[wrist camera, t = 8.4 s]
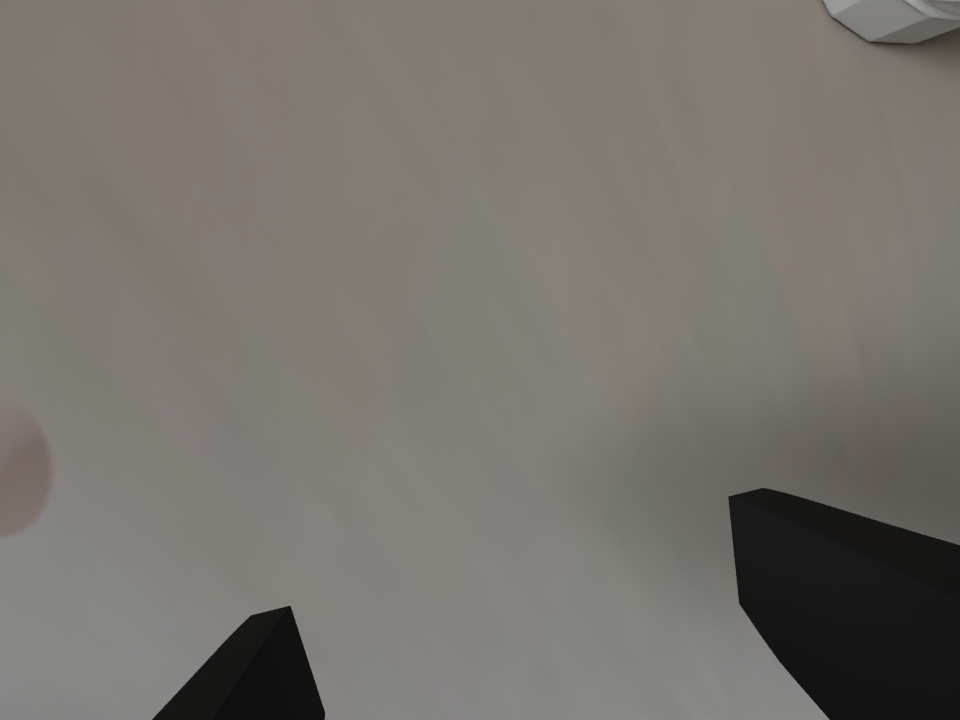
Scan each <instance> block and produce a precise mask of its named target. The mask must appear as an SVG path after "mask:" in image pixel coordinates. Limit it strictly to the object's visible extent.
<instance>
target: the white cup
mask: <svg viewBox="0 0 960 720" xmlns="http://www.w3.org/2000/svg"><path fill="white" fill-rule="evenodd" d="M823 2H824V4H825V6H826V8H827V10H828V12H829V14H830V15H831V16H832V17H833V18H835V19H836V20H838V21H839V22H840V23H842V24H843V25H845V26H846V27H848V28H849V29H851V30H852V31H854V32H855V33H856V34H858V35H859V36H861V37H862V38H864V39H865V40H867V41H869V42H887V43H907V44H914V43H918V42H921V41H924V40H926V39H929V38H932V37H935V36H938V35H940V34H943V33H946V32H949V31H951V30H954V29H957V28H960V0H823Z"/></svg>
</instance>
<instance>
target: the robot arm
mask: <svg viewBox="0 0 960 720" xmlns="http://www.w3.org/2000/svg"><path fill="white" fill-rule="evenodd" d="M728 498H729V508H730V518H731V527H732V537H733V547H734V557H735V567H736V576H737V586H738V596H739V604H740V605H741V607H742V608H743V610H744V611H745V613H746V614H747V616H748V617H749V619H750V620H751V622H752V623H753V625H754V626H755V628H756V629H757V631H758V632H759V634H760V635H761V636H762V638H763V639H764V641H765V642H766V643H767V645H768V646H769V648H770V649H771V650H772V652H773V653H774V655H775V656H776V657H777V659H778V660H779V662H780V663H781V664H782V665H783V666H784V667H785V669H786V670H787V671H788V672H789V673H790V674H791V676H792V677H793V678H794V679H795V680H796V681H797V683H798V684H799V685H800V686H801V687H802V688H803V689H804V691H805V692H806V693H807V694H808V695H809V696H810V697H811V699H812V700H813V701H814V702H815V703H816V704H817V706H818V707H819V708H820V709H821V710H822V711H823V712H824V714H825V715H826V716H827V717H828V718H829V719H830V720H960V545H957V544H954V543H950V542H947V541H943V540H940V539H936V538H933V537H929V536H926V535H922V534H919V533H916V532H912V531H909V530H906V529H902V528H899V527H896V526H892V525H889V524H886V523H883V522H879V521H876V520H873V519H870V518H866V517H863V516H860V515H857V514H854V513H850V512H847V511H844V510H841V509H837V508H834V507H831V506H828V505H824V504H821V503H818V502H815V501H811V500H808V499H804V498H801V497H798V496H794V495H791V494H787V493H783V492H779V491H775V490H770V489H766V488H761V489H757V490H753V491H749V492H745V493H741V494H737V495H733V496H729V497H728ZM152 720H325V711H324V708H323V705H322V702H321V699H320V696H319V693H318V689H317V686H316V683H315V680H314V677H313V674H312V671H311V668H310V665H309V662H308V659H307V656H306V652H305V649H304V646H303V643H302V640H301V637H300V634H299V631H298V628H297V625H296V622H295V618H294V615H293V612H292V609H291V606H287V607H283V608H279V609H275V610H271V611H267V612H263V613H259V614H255V615H251V616H250V617H249V618H248V619H247V620H246V621H245V622H244V623H243V624H242V625H241V626H240V627H239V628H238V629H237V630H236V631H235V632H234V633H233V634H232V635H231V636H230V637H229V638H228V639H227V640H226V641H225V642H224V643H223V644H222V645H221V646H220V647H219V648H218V649H217V651H216V652H215V653H214V654H213V655H212V656H211V657H210V658H209V659H208V660H207V661H206V662H205V663H204V665H203V666H202V667H201V668H200V669H199V670H198V671H197V672H196V673H195V674H194V675H193V676H192V678H191V679H190V680H189V681H188V682H187V683H186V684H185V685H184V686H183V687H182V688H181V689H180V690H179V691H178V693H177V694H176V695H175V696H174V697H173V698H172V699H171V700H170V701H169V702H168V703H167V704H166V705H165V706H164V708H163V709H162V710H161V711H160V712H159V713H158V714H157V715H156V716H155V717H154V718H153V719H152Z"/></svg>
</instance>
